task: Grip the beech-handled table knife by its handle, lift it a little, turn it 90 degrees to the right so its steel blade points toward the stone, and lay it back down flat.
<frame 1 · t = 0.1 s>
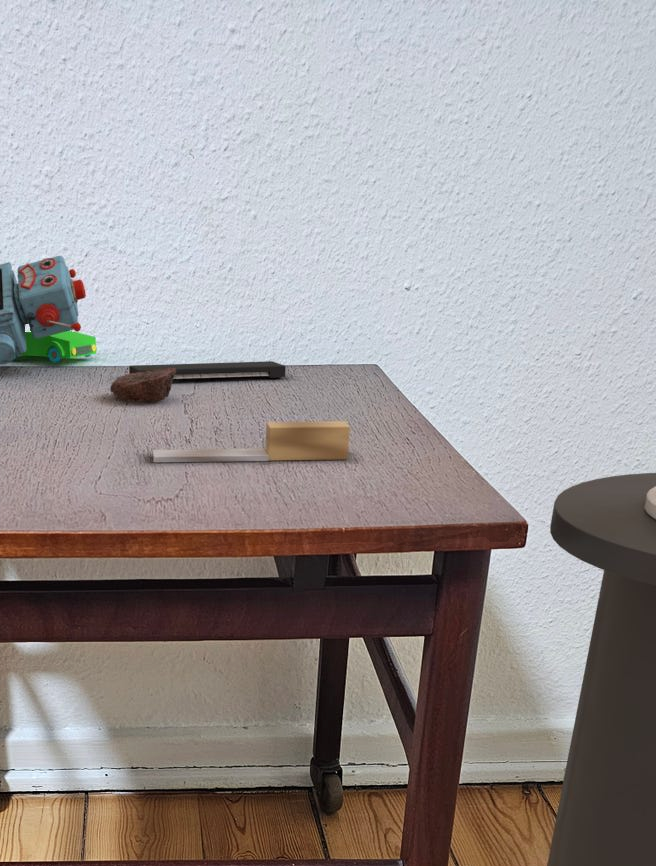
knife: (345, 456, 105), on the table
stone: (142, 401, 127), on the table
toy car: (49, 360, 149), on the table
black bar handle: (213, 374, 135), point 1 cm above the table
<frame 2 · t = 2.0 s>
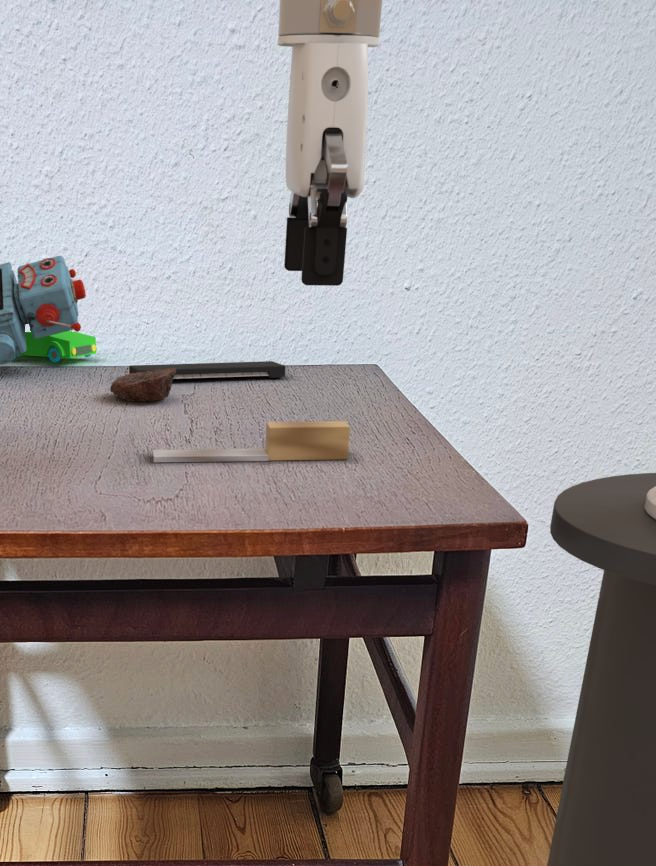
hand: (312, 277, 97), 14 cm above the table, tool pointing down, fingers open, 9 cm apart
nothing on the table moved.
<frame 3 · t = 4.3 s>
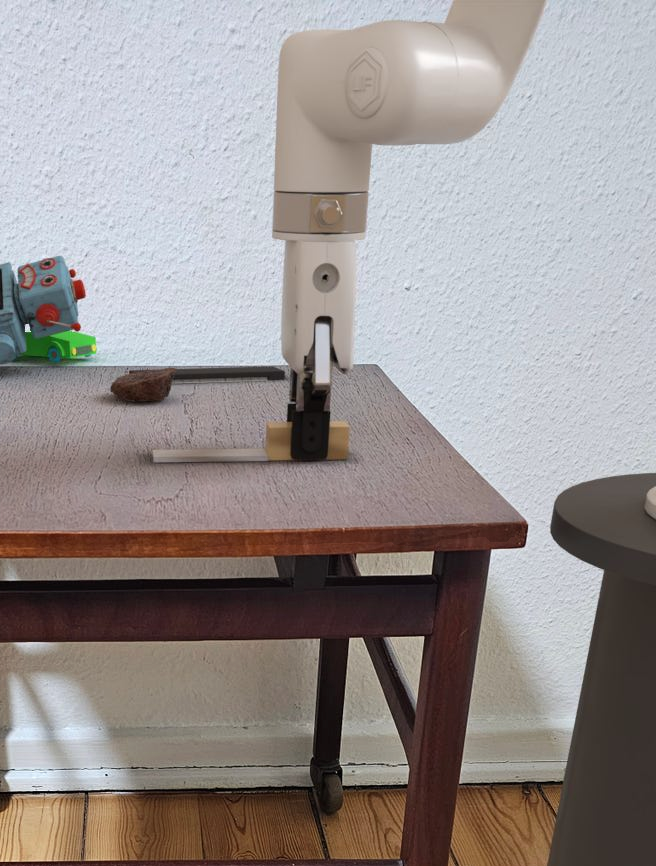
hand: (306, 453, 104), 0 cm above the table, tool pointing down, fingers closed on knife, 2 cm apart
knife: (345, 456, 105), on the table, touching gripper
everything else where it was.
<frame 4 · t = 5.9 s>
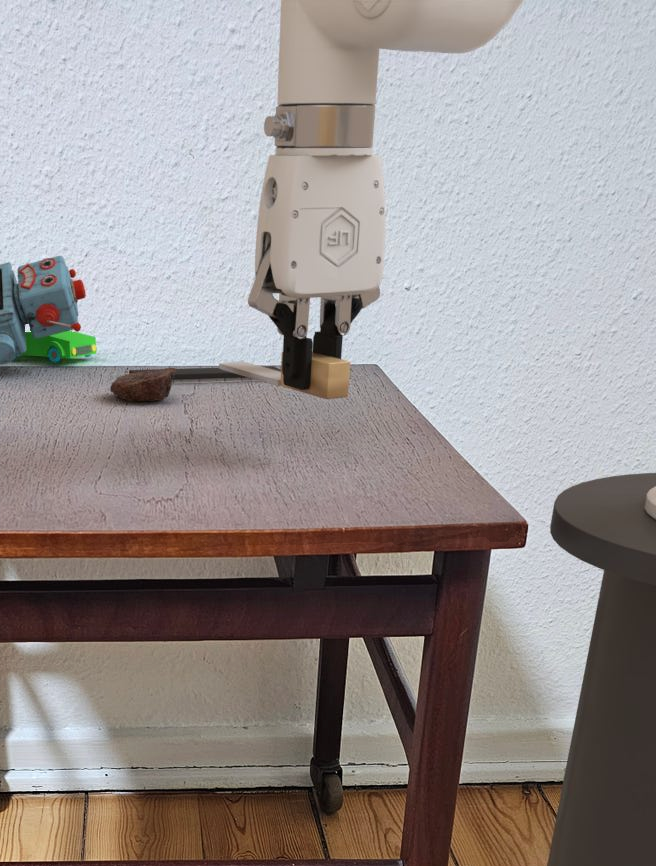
hand: (310, 383, 101), 6 cm above the table, tool pointing down, fingers closed on knife
knife: (337, 398, 99), point 6 cm above the table, touching gripper
everything else where it was.
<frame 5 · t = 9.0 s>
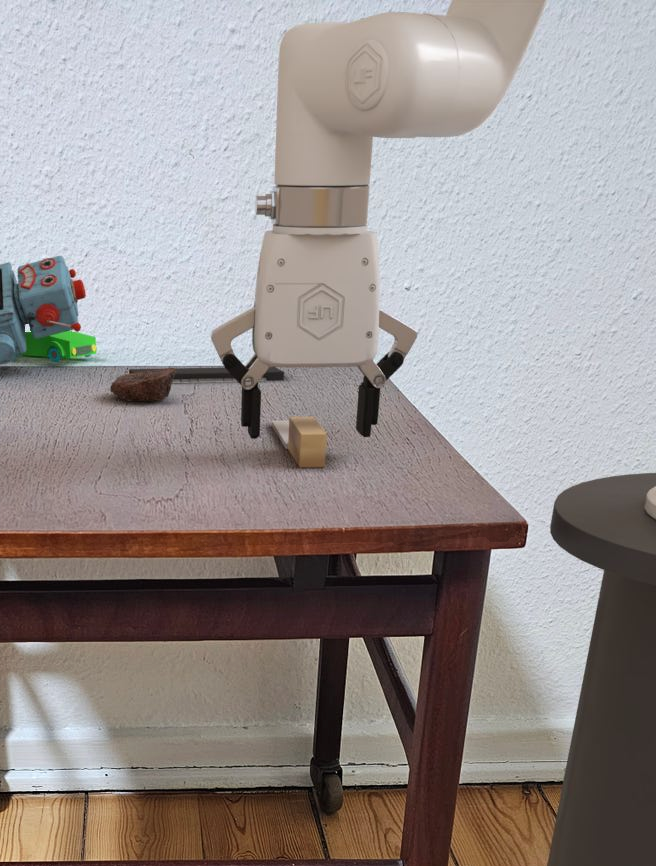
hand: (308, 434, 103), 2 cm above the table, tool pointing down, fingers open, 9 cm apart
knife: (311, 467, 101), on the table
everything else where it was.
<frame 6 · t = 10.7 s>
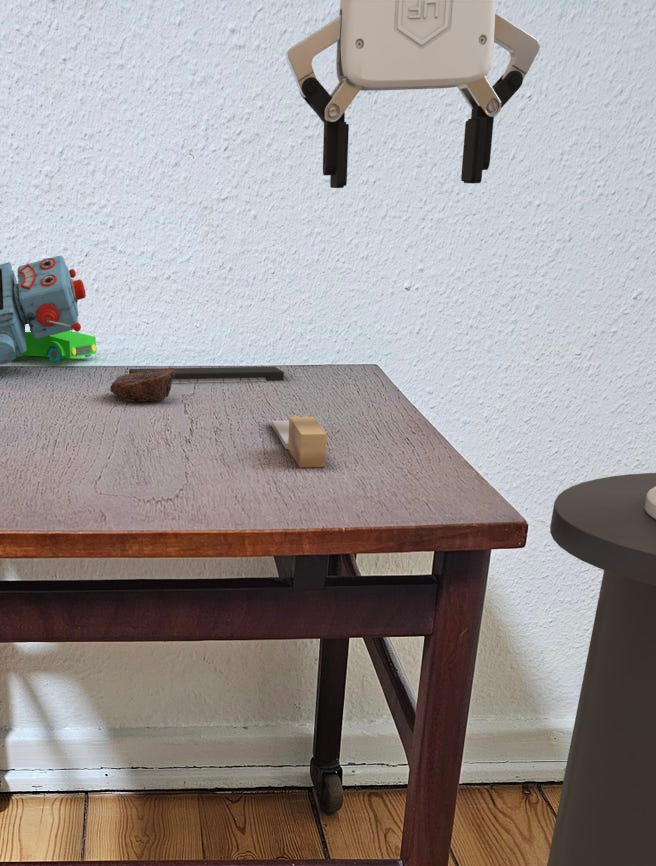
hand: (404, 185, 85), 21 cm above the table, tool pointing down, fingers open, 9 cm apart
nothing on the table moved.
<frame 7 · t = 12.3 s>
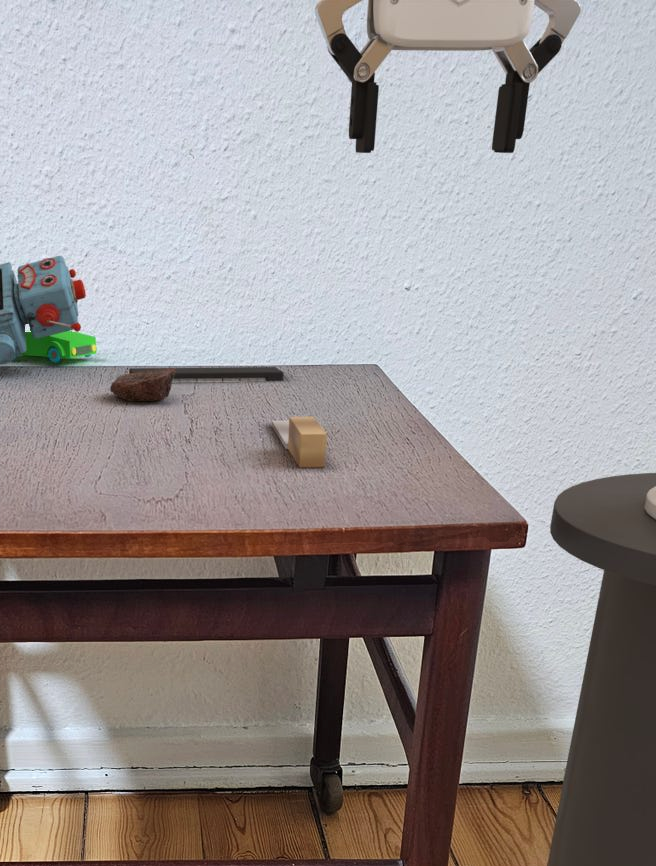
hand: (433, 152, 81), 23 cm above the table, tool pointing down, fingers open, 9 cm apart
nothing on the table moved.
at the end: knife 0.3 cm from the target spot, on the table; knife tilted 0°; stone moved 0.2 cm from its start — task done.
